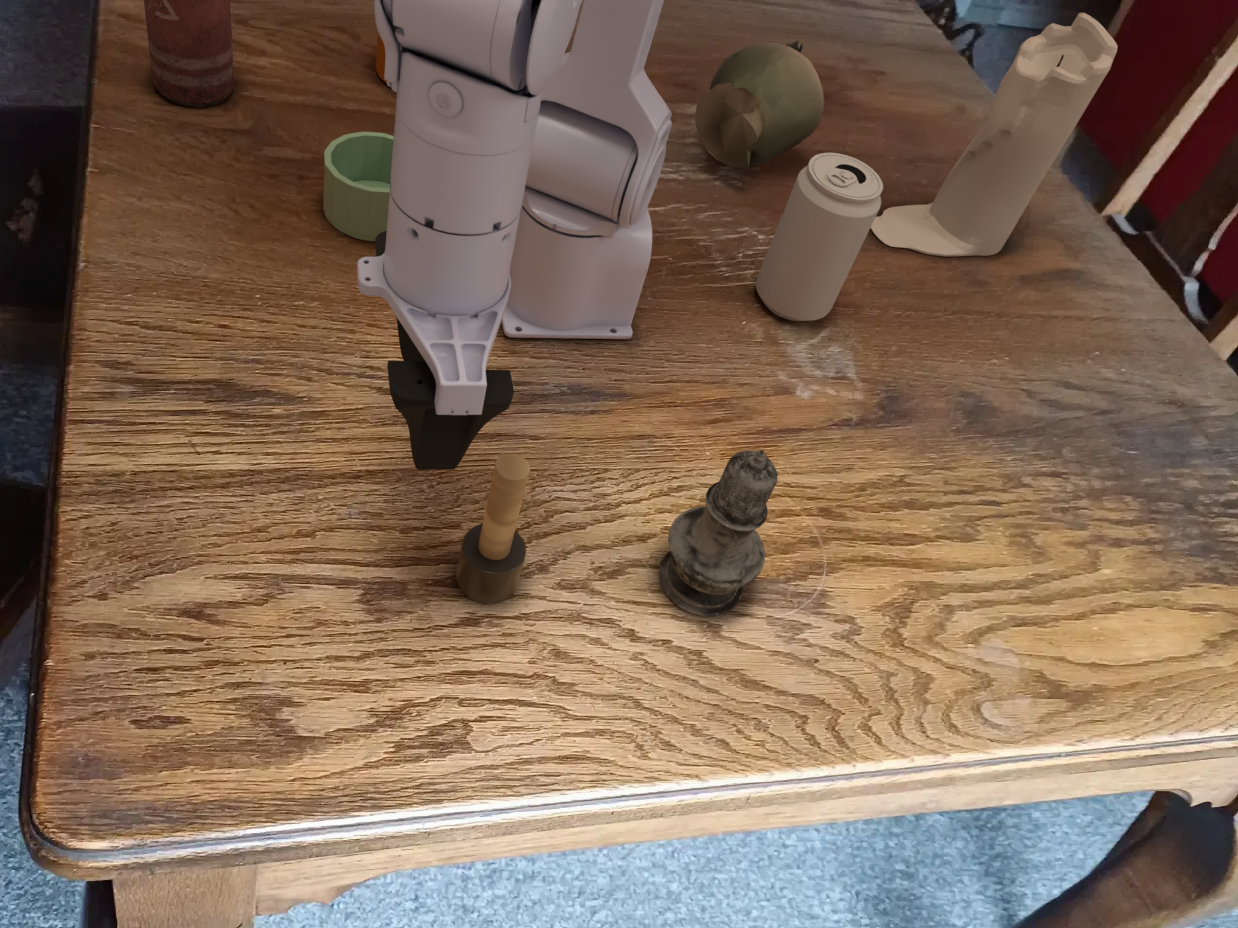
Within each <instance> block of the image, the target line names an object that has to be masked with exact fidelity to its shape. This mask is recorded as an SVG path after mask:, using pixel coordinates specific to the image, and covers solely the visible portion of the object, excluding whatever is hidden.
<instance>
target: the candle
mask: <svg viewBox="0 0 1238 928" xmlns="http://www.w3.org/2000/svg"><path fill="white" fill-rule="evenodd" d="M1117 52H1118V44H1117V42H1116V41H1115V40H1114V38H1113V37H1112V35H1110V34H1109V32H1108V31H1107V30H1106V28H1105V26H1103V25H1102V24H1101V23H1100V22H1099V21H1098V20H1097V19H1095V18H1094V17H1092V16H1091V15H1089V14H1087V13H1085V12H1079V13H1078V14H1077V16H1076V17H1075V19H1074V20H1073V22H1072V24H1071V25H1067V26H1064V25H1061V24H1057V23H1053V22H1052V23H1050V24H1048V25H1047V26H1046V27H1044V29H1043V30H1042V31H1041V33H1040V34H1037V35H1036V36H1031V37H1029V38H1027V39H1026V40H1025V41H1023V42H1022V43H1021V44H1020V46H1019V48H1018V51H1017V53H1016V56H1015V58H1014V59H1013V62H1012V64H1011V65H1010V67H1009V68H1008V70H1007V72H1006V73H1005V75H1004V76H1003V77H1002V79H1001V80H1000V83H999V85H998V88H997V90H996V93H995V95H994V97H993V98H992V101H991V104H990V106H989V108H988V111H987V113H986V115H985V118H984V120H983V122H982V124H981V126H980V128H979V129H978V130H977V132H976V133H975V135H973V137H972V138H971V140H970V142H969V143H968V145H967V147H966V148H965V149H964V150H963V152H962V154H961V155H960V156H959V158H958V159H957V160H956V162H955V163H954V165H953V167H952V168H951V169H950V171H949V172H948V174H947V176H946V177H945V179H944V181H943V183H942V184H941V186H940V189H939V190H938V192H937V194H936V196H935V197H934V199H933V201H932V202H930V203H928V204H909V205H900V206H891V207H888V208H886V209H885V210H883V212H882V214H881V215H879V216H876V217H875V219H874V221H873V223H872V225H871V227H870V229H871V231H872V232H873V234H874V235H875V236H876V237H877V238H878V239H879V240H880V241H881V242H883V244H885V245H887V246H890V247H893V248H904V249H910V250H913V251H915V252H917V253H918V252H919V253H922V254H925V255H928V256H929V255H930V256H937V257H969V256H985V257H987V256H993V255H996V254H998V253H999V252H1001V251H1002V249H1003V247H1004V245H1005V244H1006V242H1007V240H1008V239H1009V237H1010V236H1011V234H1012V233H1013V231H1014V229H1015V228H1016V225H1017V224H1018V222H1019V220H1020V219H1021V217H1022V215H1023V213H1024V211H1025V210H1026V208H1027V206H1028V204H1029V203H1030V201H1031V200H1032V198H1033V196H1034V194H1035V193H1036V191H1037V189H1038V188H1039V186H1040V184H1041V183H1042V181H1043V179H1044V178H1045V176H1046V175H1047V173H1048V172H1049V170H1050V169H1051V167H1052V166H1053V164H1054V163H1055V161H1056V159H1057V157H1058V156H1059V154H1060V153H1061V151H1062V150H1063V148H1064V146H1065V144H1066V142H1067V141H1068V139H1069V138H1070V136H1071V134H1072V132H1073V131H1074V129H1075V128H1076V126H1077V124H1078V123H1079V121H1080V119H1081V118H1082V116H1083V114H1084V113H1085V111H1086V110H1087V108H1088V106H1089V105H1090V103H1091V101H1092V99H1093V98H1094V96H1095V94H1096V93H1097V91H1098V89H1099V88H1100V86H1101V85H1102V83H1103V81H1104V79H1106V76H1107V75H1108V73H1109V72H1110V70H1111V68H1112V64H1113V61H1114V59H1115V57H1116V54H1117Z"/></svg>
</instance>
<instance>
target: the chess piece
mask: <svg viewBox="0 0 1238 928" xmlns="http://www.w3.org/2000/svg"><path fill="white" fill-rule="evenodd" d="M778 475H779V474H778V471H777V468H776V466H775V464H774V462H773V461H772V460H771V459H770V458H769V457H767V454H766V452H765V450H763V449H760V450H756V451H755V450H741V451H739V452H736V453H734V454H733V455H732V456H731V457H730V458H729V459H728V461H727V463H726V465H725V467H724V470H723V472H722V474H721V475H720V479H719V481H717V482H715V483H713V484H712V485H711V486H709V487H708V489H707V491H706V493H705V497H704V502H705V505H702V506H696V507H691V508H689V509H686V510H684V511H682V512H681V513H680V514H678V516H676V517H675V518H674V520H673V521H672V524H671V525H670V527H669V531H668V537H667V541H668V546H669V551H668V552H667V553H666V554H665V555H664V556H663V558H662V560H661V562H660V564H659V568H658V578H659V583H660V586H661V588H662V590H663V593H664V594H665V595H666V596H667V598H668V599H669V600H670V602H672V603H673V604H674V605H676V606H677V607H678V608H679V609H681V610H683V611H685V612H687V613H688V614H692V615H695V616H698V617H708V618H709V617H710V618H711V617H712V618H714V617H718V616H723V615H725V614H727V613H729V612H730V611H732V610H733V609H735V607H736V606H737V605H738V604H739V602H740V600H741V597H742V596H743V590H744V586H746V585H747V584H749V583H751V582H753V581H754V580H755V579H756V578H757V577H758V576H759V575H760V574H761V573H762V570H763V568H764V566H765V562H766V549H765V546H764V542H763V540H762V539H761V536H760V535H759V533H758V531H757V530H758V529H759V528H761V527H762V526H763V525H764V524H765V522H766V520H767V518H768V510H769V509H768V505H767V503H768V501H769V499H770V497H771V496H772V493H773V491H774V489H775V487H776V485H777V484H778Z"/></svg>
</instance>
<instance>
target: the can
mask: <svg viewBox="0 0 1238 928" xmlns="http://www.w3.org/2000/svg"><path fill="white" fill-rule="evenodd" d="M143 4H144V5H143V6H144V15H145V24H146V32H147V33H146V34H147V41H148V42H147V43H148V44H147V45H148V52H149V62H150V70H151V80H152V84H153V85H154V87H155V89H156V90H157V91H158V93H160V94H161V95H162V96H163V97H164V99H167V100H168V101H170V102H172V103H174V104H177V105H181V106H184V107H191V108H205V107H206V108H207V107H212V106H215V105H218V104H220V103H222V102H225V100H226V99H227V98H228V97H229V96H230V94H231V93H232V92H233V90H234V85H235V74H234V56H233V55H234V54H233V52H234V51H233V32H232V29H233V28H232V8H231V0H143Z"/></svg>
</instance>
